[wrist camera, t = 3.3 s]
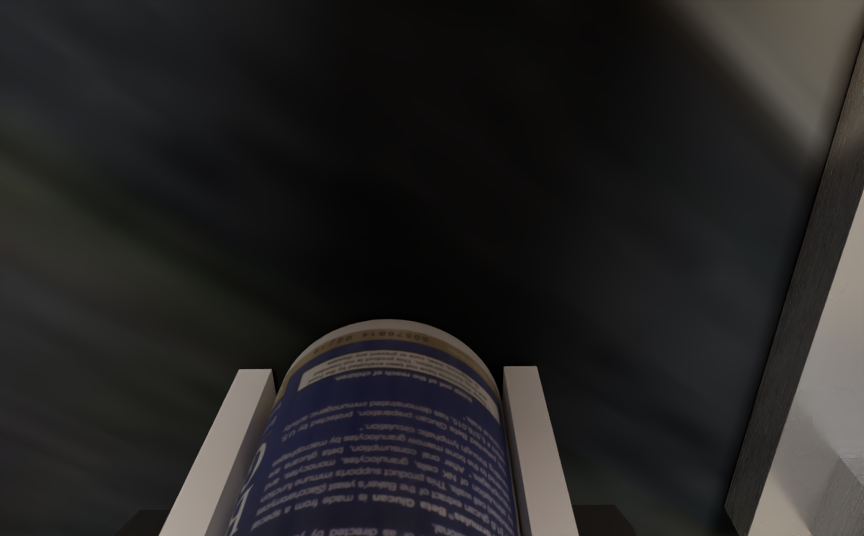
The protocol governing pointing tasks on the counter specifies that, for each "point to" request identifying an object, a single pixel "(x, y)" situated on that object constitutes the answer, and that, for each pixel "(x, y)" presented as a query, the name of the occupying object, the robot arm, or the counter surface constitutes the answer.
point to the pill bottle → (382, 441)
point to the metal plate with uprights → (815, 368)
